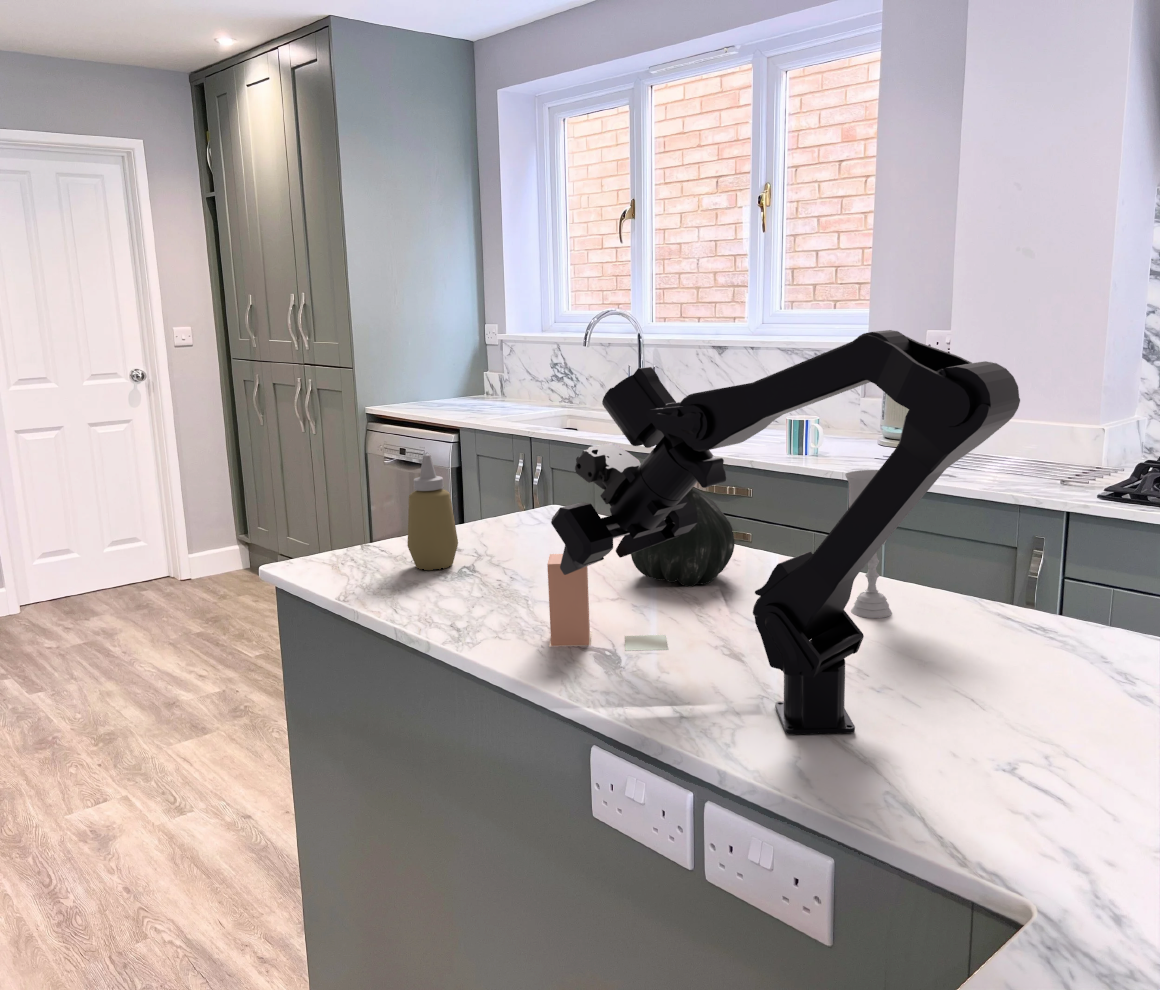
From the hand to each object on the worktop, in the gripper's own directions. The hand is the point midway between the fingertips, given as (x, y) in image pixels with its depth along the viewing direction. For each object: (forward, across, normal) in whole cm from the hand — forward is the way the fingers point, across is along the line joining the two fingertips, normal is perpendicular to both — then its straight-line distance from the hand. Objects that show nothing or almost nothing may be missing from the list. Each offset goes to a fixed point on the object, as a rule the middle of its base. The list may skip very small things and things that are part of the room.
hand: (591, 562), depth 111 cm
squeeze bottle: (+41, -11, -25) cm, 49 cm away
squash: (+16, -30, 0) cm, 34 cm away
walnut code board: (+8, -2, +8) cm, 11 cm away
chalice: (-5, -33, +20) cm, 39 cm away
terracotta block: (+10, 0, +4) cm, 11 cm away
